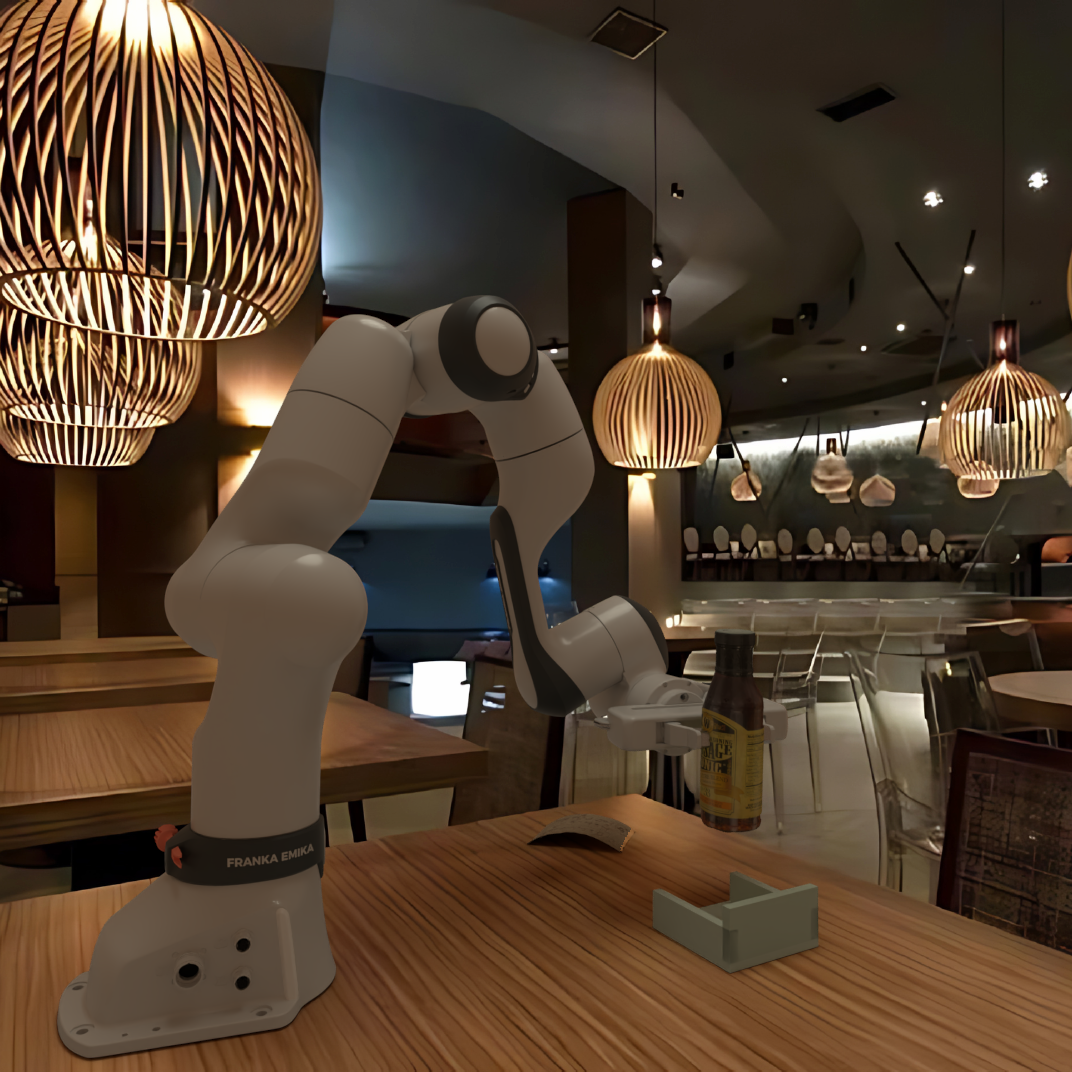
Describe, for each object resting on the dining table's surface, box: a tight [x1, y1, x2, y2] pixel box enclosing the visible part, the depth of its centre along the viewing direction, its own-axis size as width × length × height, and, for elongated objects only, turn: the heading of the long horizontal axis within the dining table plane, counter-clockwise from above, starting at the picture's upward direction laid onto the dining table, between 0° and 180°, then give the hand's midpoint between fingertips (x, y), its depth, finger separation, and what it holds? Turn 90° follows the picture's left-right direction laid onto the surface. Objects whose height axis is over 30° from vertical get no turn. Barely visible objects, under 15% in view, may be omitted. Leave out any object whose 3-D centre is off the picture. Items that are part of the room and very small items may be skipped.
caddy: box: [652, 870, 819, 974], centre depth 88 cm, size 12×12×6 cm
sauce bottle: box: [698, 628, 765, 834], centre depth 88 cm, size 7×6×20 cm
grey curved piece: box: [526, 813, 632, 853], centre depth 119 cm, size 14×10×3 cm
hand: (736, 738), depth 87 cm, fingers closed on sauce bottle, 6 cm apart
